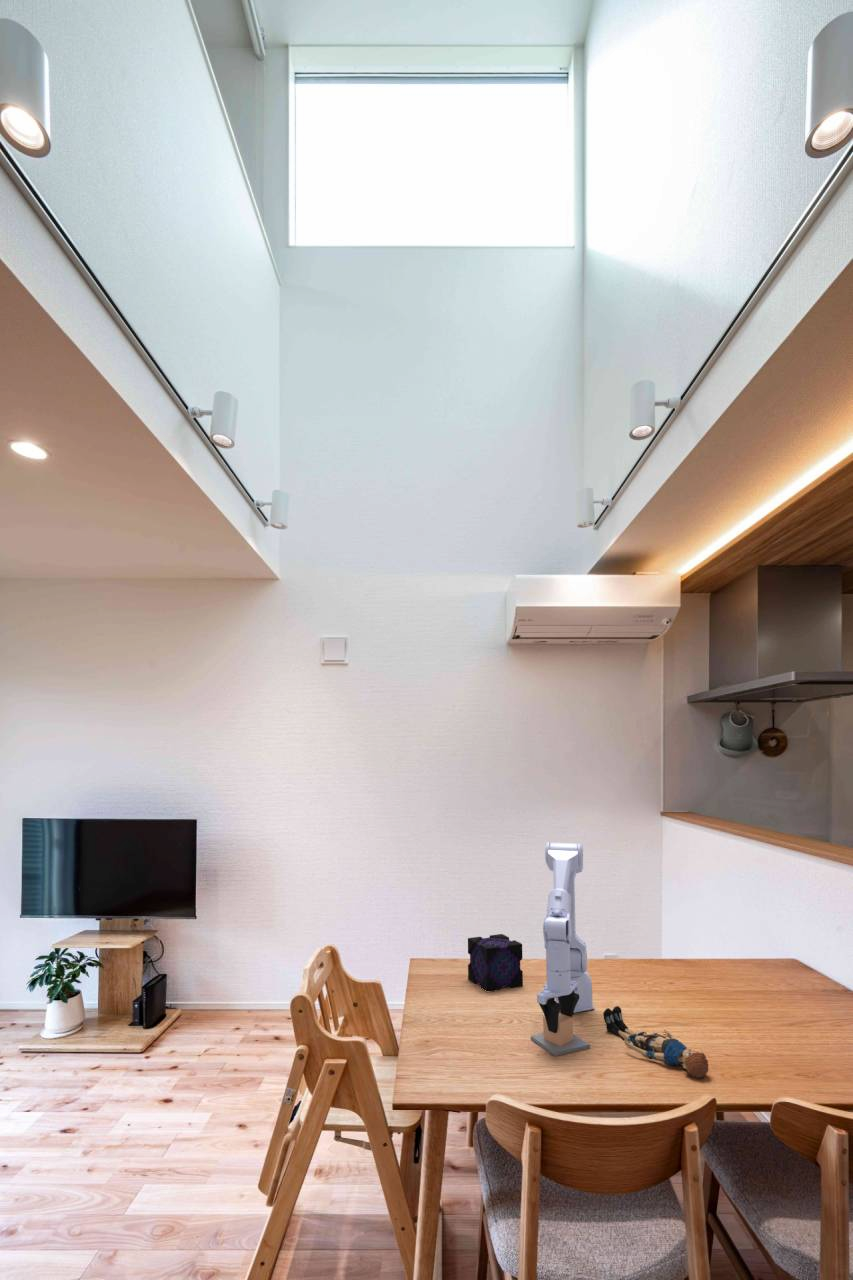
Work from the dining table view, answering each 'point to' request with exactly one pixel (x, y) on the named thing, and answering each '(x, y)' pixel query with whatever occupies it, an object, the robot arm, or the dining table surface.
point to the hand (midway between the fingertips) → (559, 1028)
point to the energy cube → (495, 962)
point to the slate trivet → (557, 1049)
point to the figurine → (657, 1045)
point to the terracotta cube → (560, 1030)
